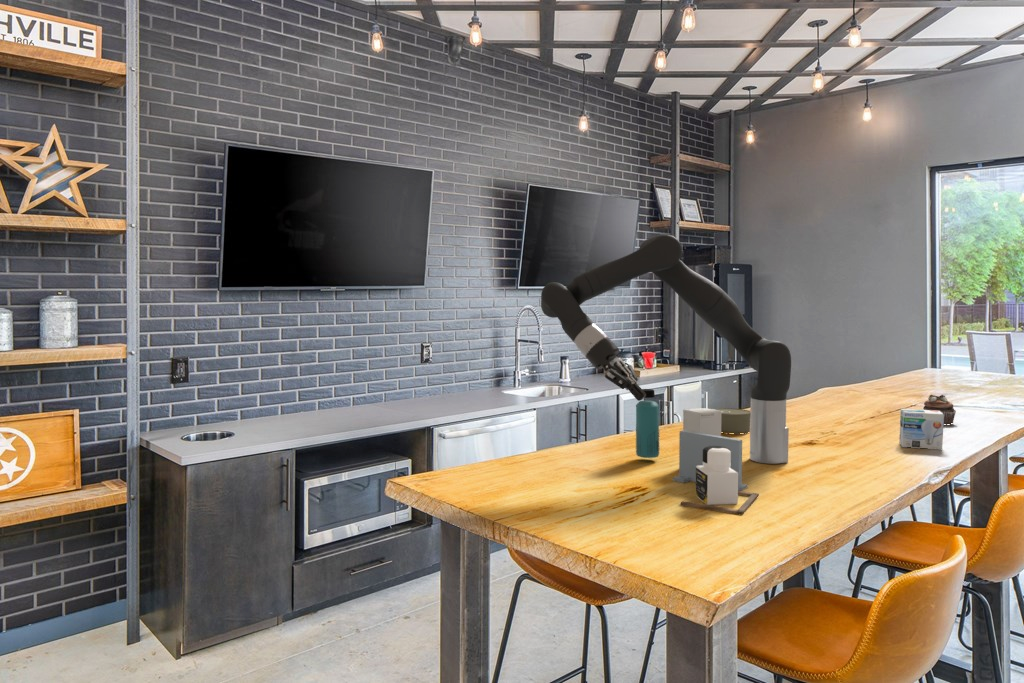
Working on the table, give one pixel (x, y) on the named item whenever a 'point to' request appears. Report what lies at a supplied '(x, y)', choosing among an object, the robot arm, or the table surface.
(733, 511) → the bay
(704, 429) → the skincare box
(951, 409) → the cupcake
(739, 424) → the can
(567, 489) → the table surface
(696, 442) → the screen
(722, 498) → the medicine bottle
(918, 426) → the light bulb box
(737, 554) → the table surface
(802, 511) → the table surface
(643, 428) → the beverage bottle
